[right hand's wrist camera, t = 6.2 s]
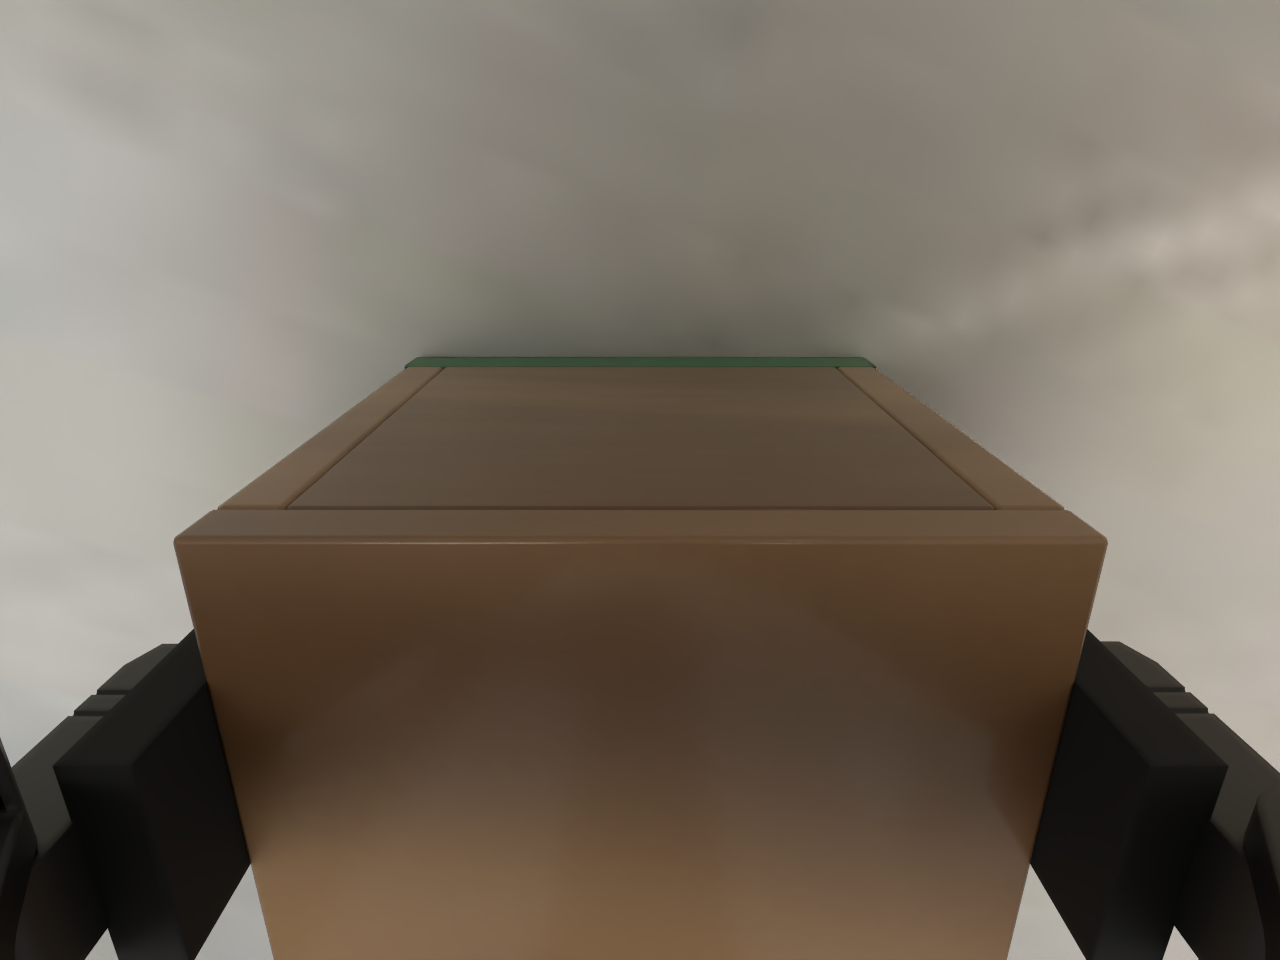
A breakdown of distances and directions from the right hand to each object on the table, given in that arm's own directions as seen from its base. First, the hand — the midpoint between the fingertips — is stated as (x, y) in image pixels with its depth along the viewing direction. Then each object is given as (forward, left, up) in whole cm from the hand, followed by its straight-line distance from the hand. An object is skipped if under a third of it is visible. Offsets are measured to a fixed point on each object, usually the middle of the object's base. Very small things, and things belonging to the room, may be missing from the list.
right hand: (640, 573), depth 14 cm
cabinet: (+5, +5, -4) cm, 8 cm away
